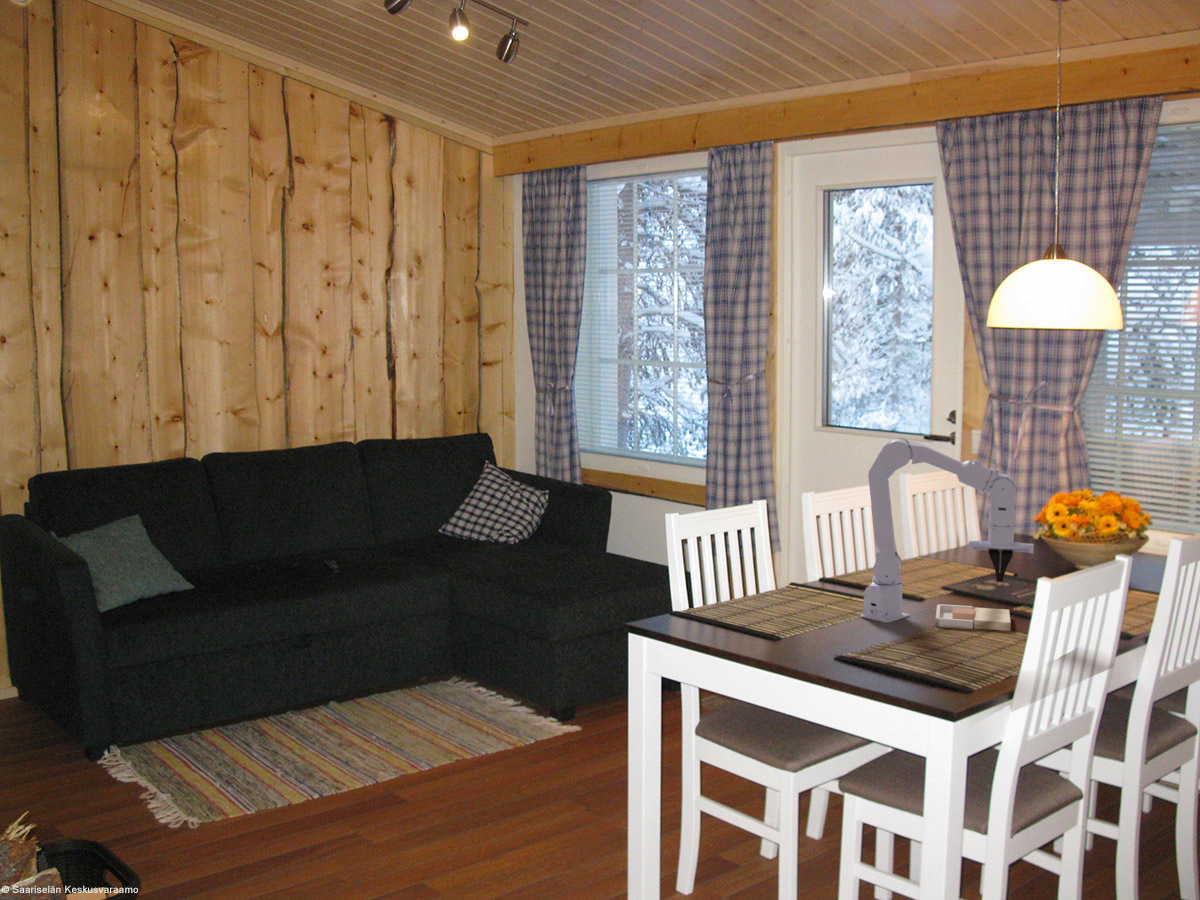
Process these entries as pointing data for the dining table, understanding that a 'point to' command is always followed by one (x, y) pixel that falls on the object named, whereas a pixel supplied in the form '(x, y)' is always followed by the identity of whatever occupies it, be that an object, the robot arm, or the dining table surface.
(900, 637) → the dining table surface
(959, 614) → the tile
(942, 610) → the tray
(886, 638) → the dining table surface
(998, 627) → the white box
